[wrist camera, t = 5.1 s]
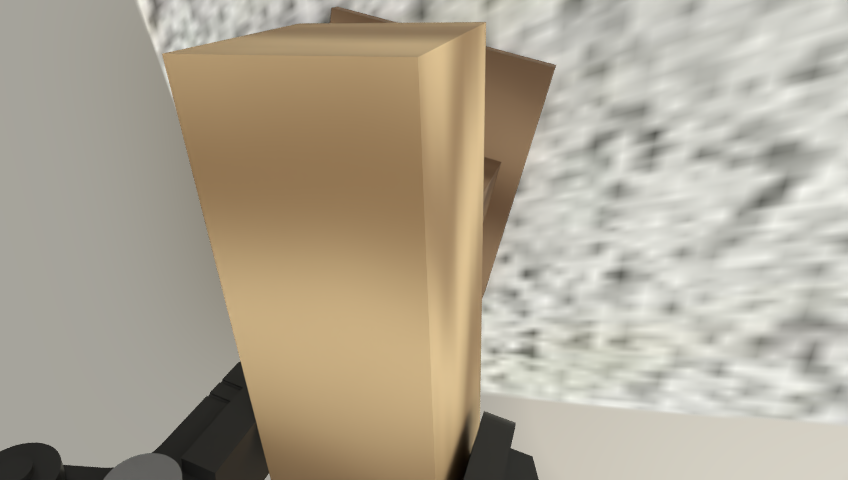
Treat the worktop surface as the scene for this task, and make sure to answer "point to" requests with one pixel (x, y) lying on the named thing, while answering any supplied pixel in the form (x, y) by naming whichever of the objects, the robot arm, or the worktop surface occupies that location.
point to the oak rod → (347, 236)
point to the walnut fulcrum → (498, 130)
